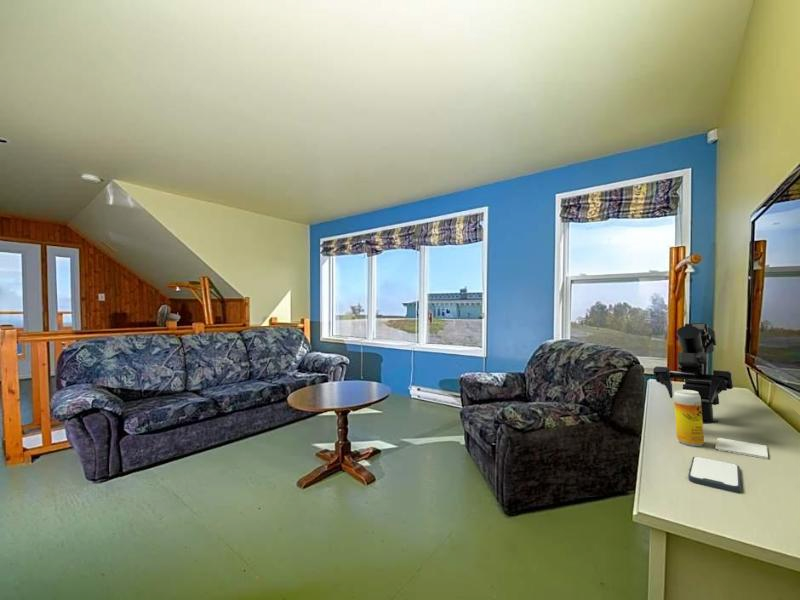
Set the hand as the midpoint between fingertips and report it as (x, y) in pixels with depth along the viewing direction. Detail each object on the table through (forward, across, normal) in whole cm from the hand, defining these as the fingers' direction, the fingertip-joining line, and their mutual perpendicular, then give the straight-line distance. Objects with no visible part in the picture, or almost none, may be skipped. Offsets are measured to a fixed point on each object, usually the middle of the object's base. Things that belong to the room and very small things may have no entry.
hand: (689, 399), depth 105 cm
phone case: (+27, +7, -9) cm, 29 cm away
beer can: (+12, 0, +5) cm, 13 cm away
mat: (+9, +10, +7) cm, 16 cm away
